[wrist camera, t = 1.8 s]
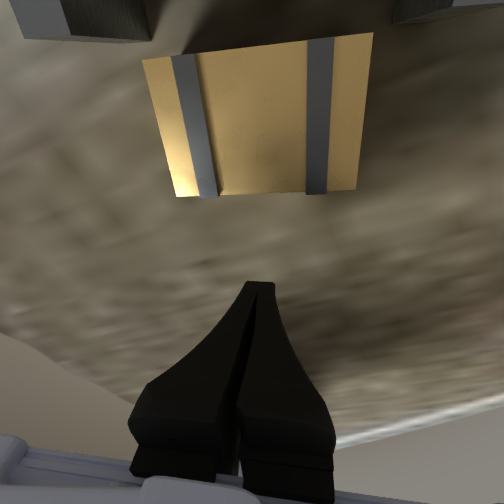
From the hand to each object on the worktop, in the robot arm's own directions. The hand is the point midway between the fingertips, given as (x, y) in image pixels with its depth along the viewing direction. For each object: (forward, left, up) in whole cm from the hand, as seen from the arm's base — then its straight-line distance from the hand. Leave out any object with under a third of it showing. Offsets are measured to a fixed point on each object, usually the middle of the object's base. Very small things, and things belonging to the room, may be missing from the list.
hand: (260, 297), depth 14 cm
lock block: (+7, 0, -5) cm, 9 cm away
